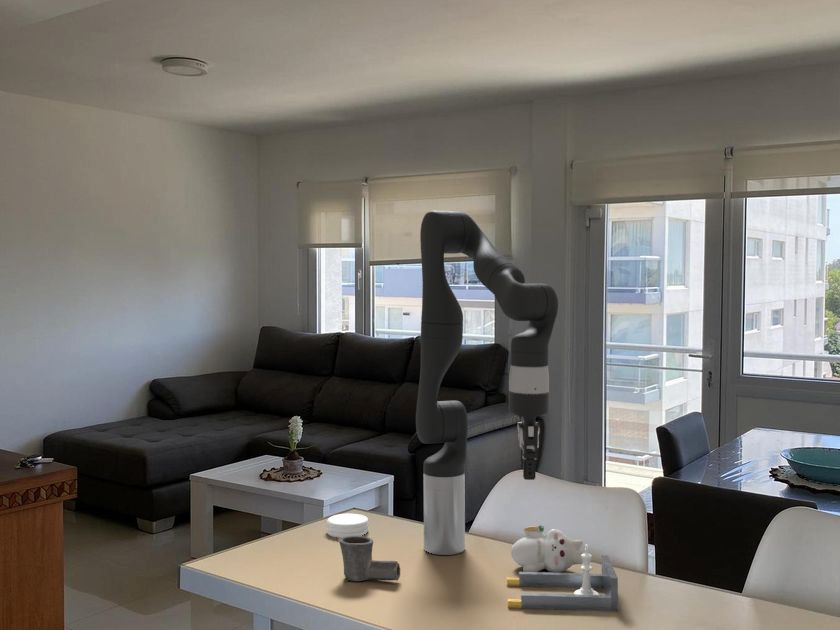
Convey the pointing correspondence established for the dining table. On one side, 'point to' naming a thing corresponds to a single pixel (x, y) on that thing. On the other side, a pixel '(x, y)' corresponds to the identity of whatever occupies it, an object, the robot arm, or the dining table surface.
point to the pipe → (365, 561)
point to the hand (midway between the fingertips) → (527, 473)
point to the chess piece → (586, 575)
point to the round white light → (347, 525)
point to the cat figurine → (546, 550)
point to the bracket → (568, 601)
